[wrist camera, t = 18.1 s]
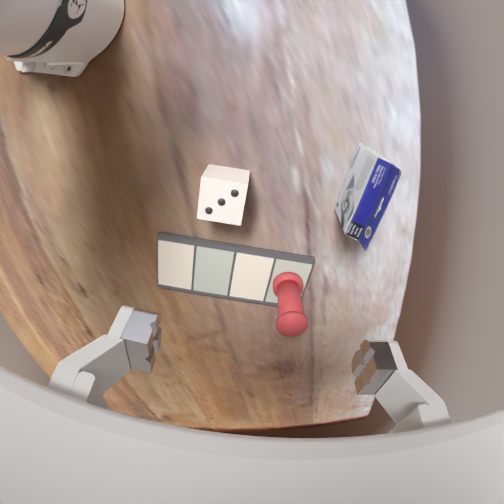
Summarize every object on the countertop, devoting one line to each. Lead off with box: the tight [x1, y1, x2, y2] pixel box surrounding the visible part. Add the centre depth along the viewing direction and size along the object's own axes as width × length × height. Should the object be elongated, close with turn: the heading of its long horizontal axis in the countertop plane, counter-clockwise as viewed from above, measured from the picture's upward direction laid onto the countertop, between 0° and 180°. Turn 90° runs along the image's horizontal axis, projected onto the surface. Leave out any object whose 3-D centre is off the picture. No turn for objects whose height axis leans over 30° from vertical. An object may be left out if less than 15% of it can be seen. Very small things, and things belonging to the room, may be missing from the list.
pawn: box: [273, 272, 308, 336], centre depth 47 cm, size 5×5×10 cm
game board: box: [157, 232, 315, 306], centre depth 51 cm, size 26×11×1 cm, turn 80°
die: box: [197, 164, 250, 226], centre depth 41 cm, size 6×6×6 cm
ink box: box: [334, 143, 401, 251], centre depth 37 cm, size 12×2×12 cm, turn 166°
